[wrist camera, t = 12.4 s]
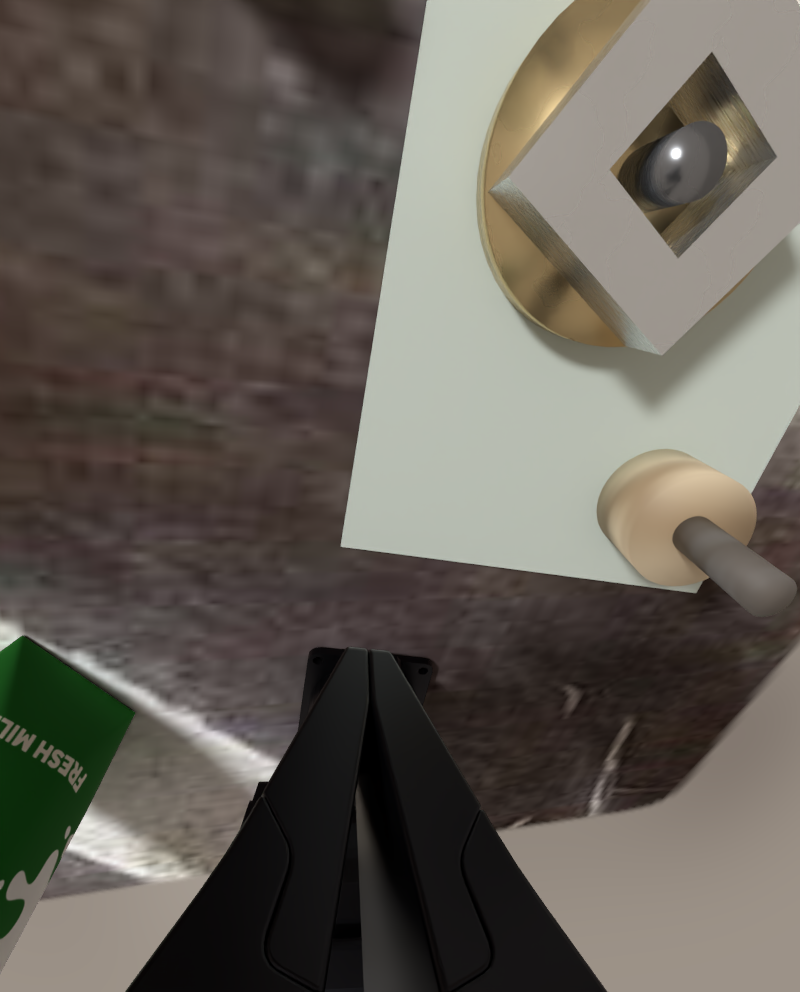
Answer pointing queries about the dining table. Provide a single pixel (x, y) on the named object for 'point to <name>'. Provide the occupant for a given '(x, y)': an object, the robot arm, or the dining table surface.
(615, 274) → the square ring
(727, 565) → the stand
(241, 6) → the dining table surface
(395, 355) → the mat
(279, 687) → the dining table surface
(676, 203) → the bell
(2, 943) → the milk carton
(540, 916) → the robot arm
